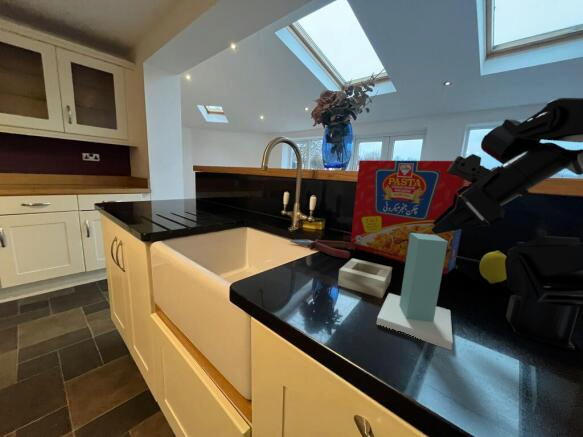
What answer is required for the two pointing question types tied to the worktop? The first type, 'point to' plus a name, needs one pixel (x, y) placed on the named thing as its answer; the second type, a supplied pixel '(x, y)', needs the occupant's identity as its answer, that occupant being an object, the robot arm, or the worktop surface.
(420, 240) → the post
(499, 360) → the worktop surface
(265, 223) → the worktop surface
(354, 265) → the socket block
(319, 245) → the pliers
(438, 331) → the pad
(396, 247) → the pasta box
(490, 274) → the lemon
